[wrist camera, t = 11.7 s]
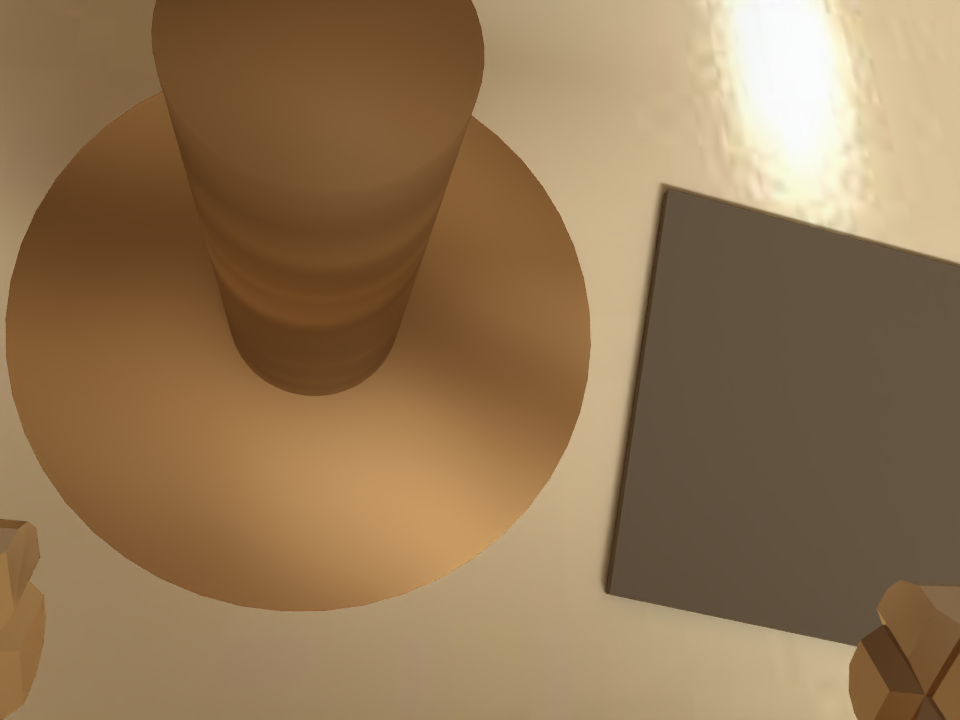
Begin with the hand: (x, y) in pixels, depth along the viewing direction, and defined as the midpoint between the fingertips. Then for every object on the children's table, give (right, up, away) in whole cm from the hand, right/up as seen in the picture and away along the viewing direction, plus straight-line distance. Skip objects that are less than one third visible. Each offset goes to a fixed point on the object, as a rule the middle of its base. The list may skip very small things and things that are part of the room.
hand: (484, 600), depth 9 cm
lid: (-3, +3, +10) cm, 11 cm away
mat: (+12, 0, +22) cm, 25 cm away
